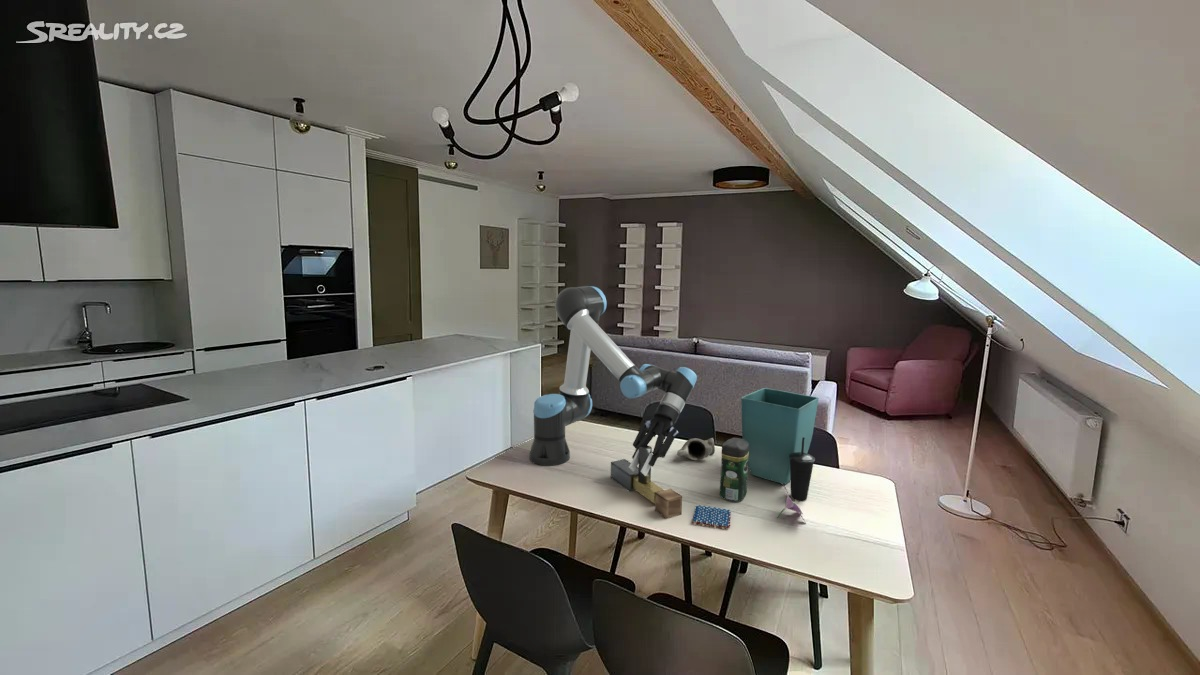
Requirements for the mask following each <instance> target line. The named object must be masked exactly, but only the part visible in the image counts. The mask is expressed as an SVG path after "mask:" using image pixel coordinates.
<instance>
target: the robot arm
mask: <svg viewBox="0 0 1200 675" xmlns="http://www.w3.org/2000/svg"><path fill="white" fill-rule="evenodd" d="M607 303H608V302H607V299H606V295H605V294H604V292H603V290H601V289H600V288H599V287H596V286H593V285H592V286H590V285H584V286H583V285H582V286H576V287H574V286H573V287H566V288H564V289H562V290H561V291H560V292H559V293H558V295H557V297H556V299H555V303H554V304H555V305H554V306H555V307H554V308H555V312H556V314H557V317H558V318H559V320H560V321H561V323H562V324H563V326H565V327H566V328H567V329H568V330H570V333H569V334H570V335H569V341H568V350H567V358H566V365H565V366H566V367H565V372H564V373H565V374H564V381H563V383H562V384H561V385H560V386H559V389H558V390H559V392H558V393H549V394H544V395H541V396H539V397H537V398H536V399H535V401H534V402H533V403H534V404H533V441H532V443H531V444H532V445H531V447H530V450H529V460H530V462H532V463H533V462H534V463H533V464H535V463H536V465H539V466H558V465H562V464H564V463H566V462H568V461H569V460H570V458H571V453H570V448H569V445H568V442H567V439H566V427H567V426H569V425H570V426H571V425H572V424H574V423H576V422H581V421H582V420H583V419H585V418H586V417H588V416H589V415H590V414H591V412H592V409H593V399H592V398H591V395H590V391H589V389H588V387H587V381H588V380H587V378H588V374H589V373H588V372H589V364H590V358H591V357H590V356H591V352H592V353H593V354H594V355H595V356H596V357H597V358H598V359H599V360H600V361H601V363H602V364H604V366H605V367H606V368H607V369H608V371H610V373H611V374H612V376H614V377H615V378H616V379H617V380H618V381H619V382H620V386H619V387H620V391H621V393H622V394H623V396H624V397H625V398H627V399H636V398H640V397H643V396H644V395H646V394H648V393H650V392H653V391H655V390H658V391H661V392H665V393H664V395H663V397H662V398H661V400H660V401H659V405H658V406H657V407H656V410H655V411H654V415H653V417H652V418H651V419H650V420H646V419H643V420H642V422H641V427H640V428H639V431H638V432H637V434H636V435H635V436H636V437H635V438H634V441H633V443H632V446H633V447H634V449H635V450H634V453H633V455H632V456H631V459H632V460H631V462H630V463H631V464H630V466H629V468H630V469H631V470H632V471H633V472H634V471H635V469H636V467H638V466H639V447H640V446H642V445H647V446H649V445H648V444H650V442H651V441H652V440H653V438H655V437H656V436H657V437H656V440H655V443H654V444H655V445H654V447H653V449H652V454H649V456H648V458H647V460H646V462H645V464H644V466H643V468H642V470H641V473H642V474H643V475H644V476H646V475H647V473H648V471H649V470H650V468H651V469H652V467H654V466H655V464H656V462H657V460H658V458H661V459H663V458H665V457H666V456H667V453H668V451H669V450H670V447H671V446H672V444H673V442H674V441H675V439H676V438H677V437H678V435H680V432H679V431H678V430H677V428H675V424H676V423H677V421H678V419H679V417H680V414H681V412H682V411H683V409H684V407H685V405H686V403H687V400H688V399H689V397H690V395H691V393H692V391H693V390H694V387H695V385H696V382H697V381H698V377H697V374H696V372H694V371H693V370H692V369H690V368H689V367H685V366H680V367H678V368H677V369H676V371H672V370H669V369H665V368H662V367H659V366H657V365H654V364H649V363H644V364H642V365H641V367H639V368H638V367H637V366H636V364H634V363H633V361H632V360H631V359H630V358H629V357H628V356H627V355H626V354H625V353H624V352H623V350H621V348H620V347H619V346H618V345H617V344H616V343H615V342H614V341H613V340H612V338H611V337H610V336H609V335H608V334H607V333H606V332H605V331H604V330H603V329H602V328H601V326H599V321H600V316H602V315H603V314H604V313H605V311H606V309H607Z"/></svg>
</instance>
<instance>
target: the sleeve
mask: <svg viewBox="0 0 1200 675" xmlns="http://www.w3.org/2000/svg"><path fill="white" fill-rule="evenodd" d="M630 464H631V462H630V461H629V460H628V459H626V458H623V459H617V460H613V461H610V479H612V480H613V481H614V482H616V484H619V486H621V487H622V488H624V489H625V490H627V491H628V492H630V493H631V492H634V491H636V490H635V489H633V488H632V487H631V482H632V476H635V475H638V467H639V466H637V467H636V469H635V471H634V472H633V471H632V470H631V469H630V468H629V466H630Z"/></svg>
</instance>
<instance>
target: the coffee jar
mask: <svg viewBox="0 0 1200 675" xmlns="http://www.w3.org/2000/svg"><path fill="white" fill-rule="evenodd" d="M748 456H749V444H748V442H747V441H746V440H744V439H743V438H740V437H732V438H730V439H727V440H726V441H724V442H723V444H722V445H721V465H720V466H721V467H720V468H721V469H720V479H719V482H720V483H719V496H720V497H721V498H722V499H724V500H726V501H729V502H741V501H742V500H744V499H745V497H747V494H748V473H749V472H748V470H749V467H748Z"/></svg>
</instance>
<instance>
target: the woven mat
mask: <svg viewBox="0 0 1200 675" xmlns="http://www.w3.org/2000/svg"><path fill="white" fill-rule="evenodd" d="M731 515H732V514H731V510H730V509H727V508H720V507H718V508H717V507H716V506H715V507H712V506H706V505H700V504H699V505H695V508H694V513H693V515H692V516H693V517H692V522H691V524H693V525H695V526H696V525H698V524H699V525H698V526H701V525H702V526H701V527H705V526H706V527H708V528H709V529H712V528H714V529H720V528H721V529H722V530H726V531H729V529H730V527H731V518H732V517H731Z"/></svg>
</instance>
